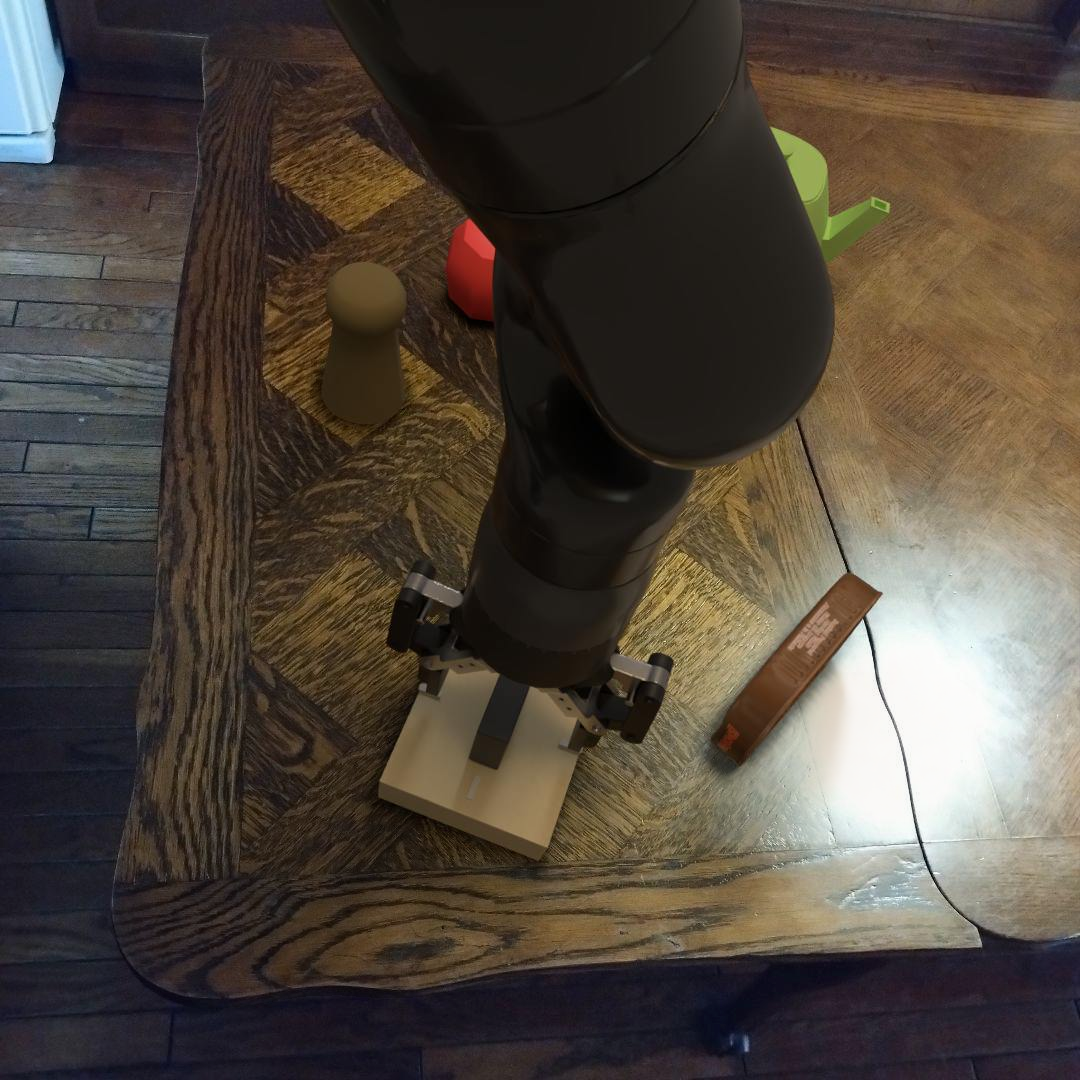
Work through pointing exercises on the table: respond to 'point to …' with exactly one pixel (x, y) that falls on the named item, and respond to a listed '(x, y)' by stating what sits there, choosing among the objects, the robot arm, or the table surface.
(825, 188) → the teapot
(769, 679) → the tin
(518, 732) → the panel
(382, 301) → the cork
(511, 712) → the red tipped black brick
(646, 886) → the table surface
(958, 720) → the table surface
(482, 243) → the apple
